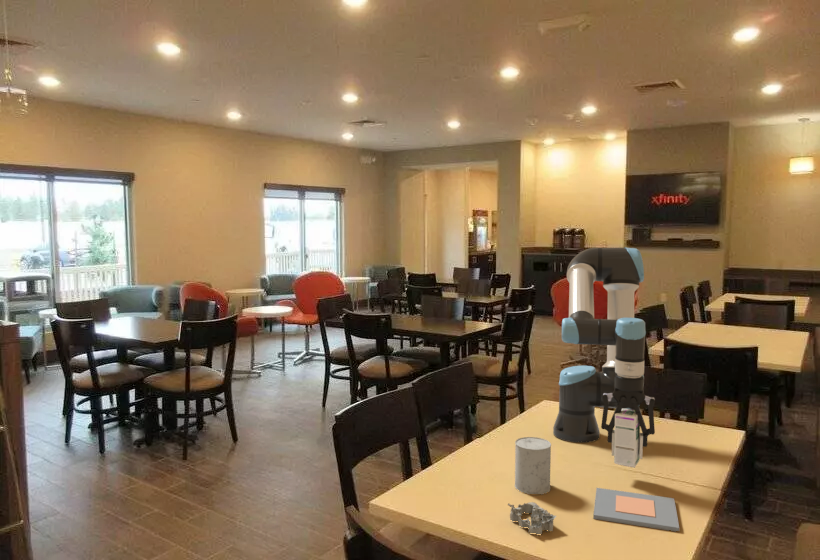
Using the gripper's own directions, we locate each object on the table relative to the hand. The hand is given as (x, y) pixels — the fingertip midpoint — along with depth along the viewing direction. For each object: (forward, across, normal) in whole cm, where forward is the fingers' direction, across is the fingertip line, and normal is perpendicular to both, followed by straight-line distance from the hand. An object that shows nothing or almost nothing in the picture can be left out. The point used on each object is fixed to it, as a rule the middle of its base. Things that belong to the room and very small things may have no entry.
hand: (626, 455), depth 165 cm
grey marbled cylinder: (+7, -24, -14) cm, 28 cm away
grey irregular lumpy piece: (+7, -21, -34) cm, 41 cm away
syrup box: (+2, 0, 0) cm, 2 cm away
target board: (+7, +2, -19) cm, 20 cm away
